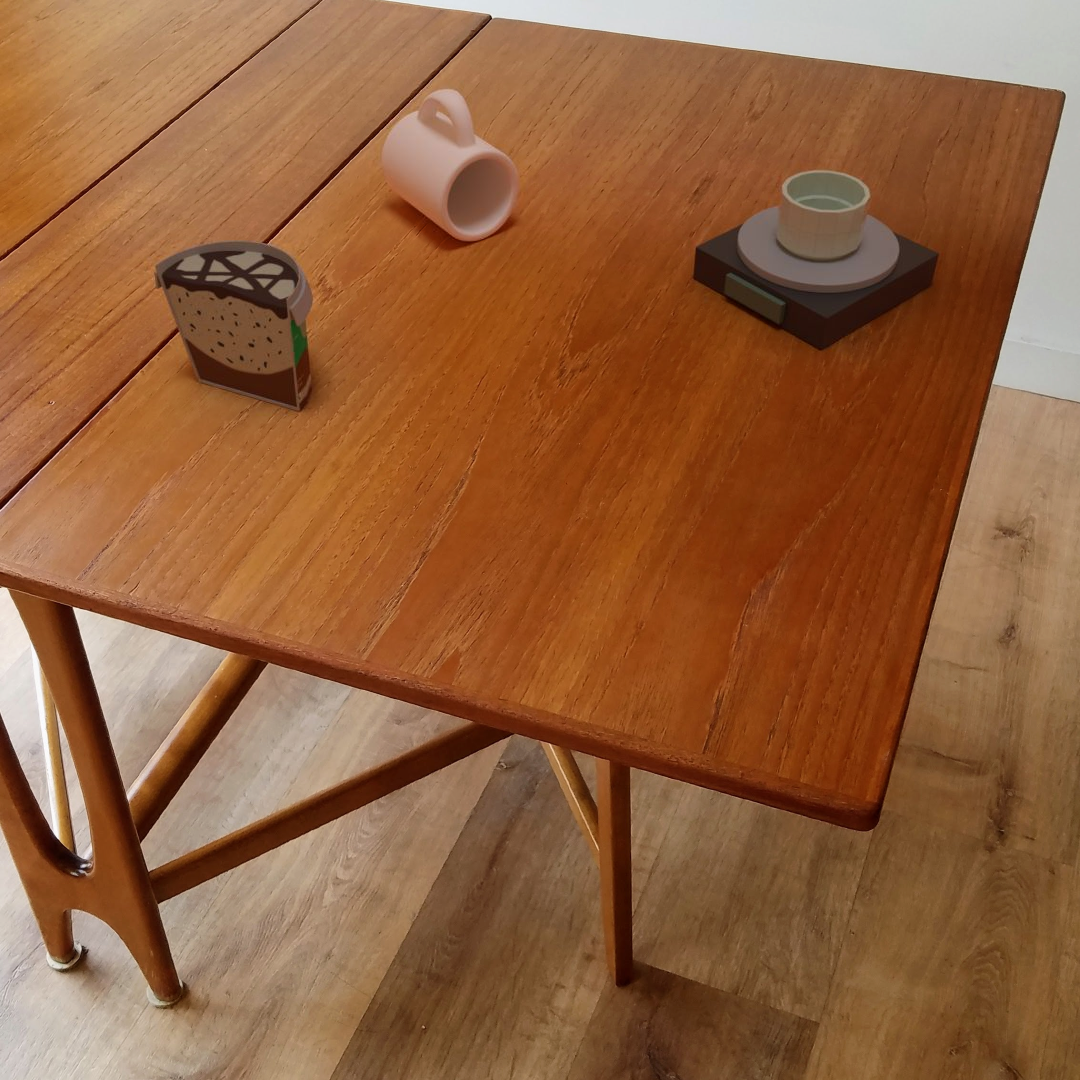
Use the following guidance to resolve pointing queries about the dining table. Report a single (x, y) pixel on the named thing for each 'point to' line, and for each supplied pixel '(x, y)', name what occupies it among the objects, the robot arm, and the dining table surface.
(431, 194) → the mug
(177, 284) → the food container
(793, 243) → the bowl
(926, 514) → the dining table surface
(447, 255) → the dining table surface
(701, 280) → the scale
